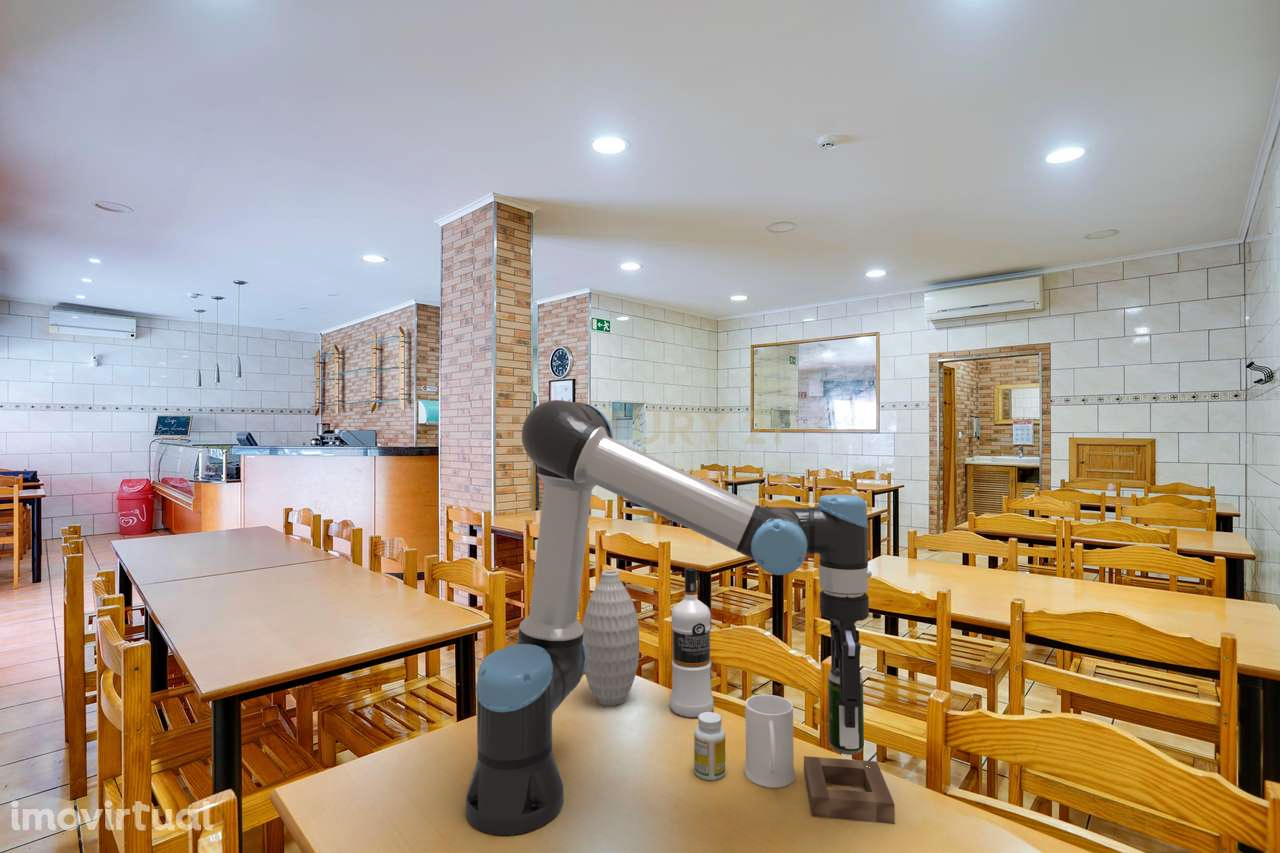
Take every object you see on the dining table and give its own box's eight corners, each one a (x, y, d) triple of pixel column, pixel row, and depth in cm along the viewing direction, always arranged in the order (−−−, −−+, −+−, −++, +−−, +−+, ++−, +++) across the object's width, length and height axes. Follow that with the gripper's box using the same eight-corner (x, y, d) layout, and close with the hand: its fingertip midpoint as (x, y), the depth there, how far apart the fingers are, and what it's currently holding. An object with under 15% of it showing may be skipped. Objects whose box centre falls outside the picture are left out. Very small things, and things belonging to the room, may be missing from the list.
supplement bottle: (695, 781, 104) (695, 724, 104) (693, 764, 109) (692, 709, 109) (727, 781, 104) (727, 724, 104) (723, 764, 109) (723, 709, 109)
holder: (812, 816, 94) (811, 796, 94) (803, 773, 106) (803, 756, 106) (894, 823, 92) (894, 803, 92) (877, 779, 104) (876, 761, 104)
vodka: (705, 698, 136) (704, 562, 137) (719, 716, 127) (718, 571, 128) (665, 702, 134) (664, 564, 135) (676, 721, 125) (675, 573, 126)
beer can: (870, 753, 97) (869, 677, 97) (840, 757, 96) (839, 680, 96) (851, 737, 102) (850, 664, 102) (822, 741, 101) (821, 667, 101)
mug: (796, 802, 98) (796, 726, 98) (742, 796, 99) (741, 721, 100) (794, 763, 109) (793, 695, 109) (745, 758, 111) (745, 691, 111)
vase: (619, 718, 127) (619, 581, 127) (570, 704, 134) (569, 574, 134) (650, 695, 138) (649, 569, 138) (603, 683, 144) (602, 563, 145)
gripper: (881, 608, 90) (883, 768, 89) (857, 578, 108) (859, 712, 108) (827, 606, 91) (829, 764, 91) (813, 577, 109) (814, 709, 109)
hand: (845, 735), depth 99 cm, fingers closed on beer can, 5 cm apart
